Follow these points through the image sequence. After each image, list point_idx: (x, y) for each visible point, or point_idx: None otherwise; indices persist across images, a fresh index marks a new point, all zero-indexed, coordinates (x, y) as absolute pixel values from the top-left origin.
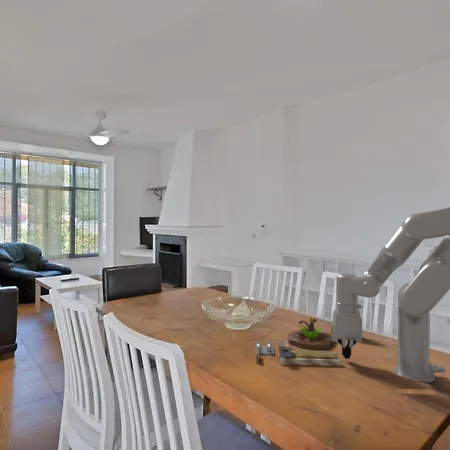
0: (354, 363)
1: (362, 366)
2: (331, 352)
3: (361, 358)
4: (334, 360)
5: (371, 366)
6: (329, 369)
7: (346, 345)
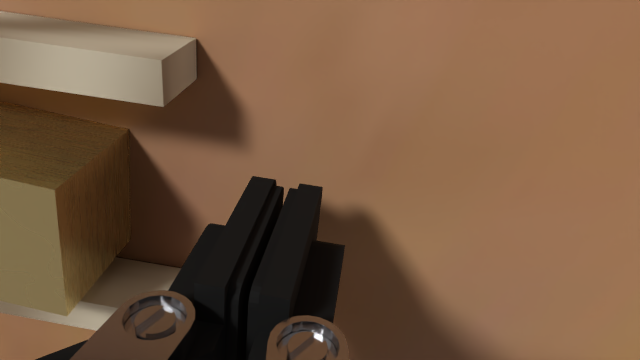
0: (384, 248)
1: (438, 329)
2: (28, 226)
3: (604, 91)
4: (87, 328)
5: (551, 343)
6: (61, 341)
7: (260, 308)
